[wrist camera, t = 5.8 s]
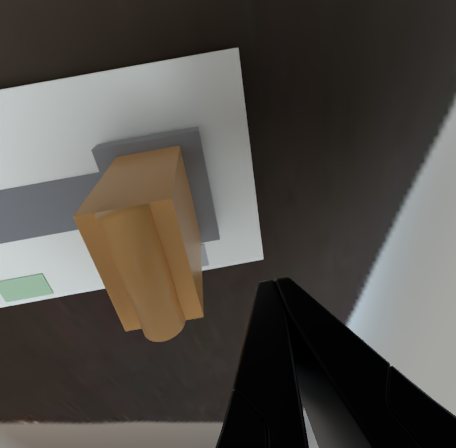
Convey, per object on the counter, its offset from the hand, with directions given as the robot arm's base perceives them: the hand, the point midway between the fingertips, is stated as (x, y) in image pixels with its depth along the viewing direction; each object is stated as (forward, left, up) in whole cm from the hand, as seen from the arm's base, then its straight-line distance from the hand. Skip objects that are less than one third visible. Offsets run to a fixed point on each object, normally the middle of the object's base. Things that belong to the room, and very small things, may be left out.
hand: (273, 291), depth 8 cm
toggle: (+4, 0, -9) cm, 10 cm away
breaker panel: (+10, 0, -12) cm, 15 cm away
